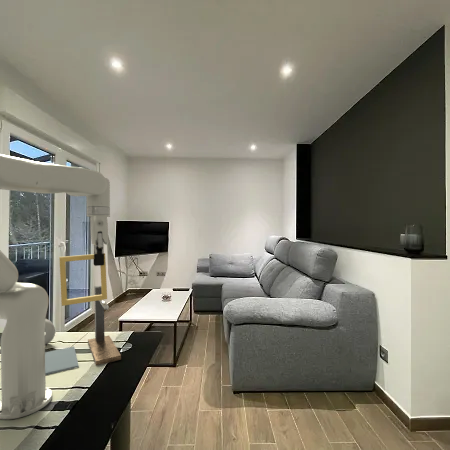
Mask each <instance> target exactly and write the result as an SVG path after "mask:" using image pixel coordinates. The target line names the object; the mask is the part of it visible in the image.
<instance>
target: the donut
mask: <svg viewBox="0 0 450 450" xmlns="http://www.w3.org/2000/svg"><path fill="white" fill-rule="evenodd" d="M55 334H56V328H55V325H54V323H53V322H52V321H51V320H49V319H47V318H46V319H45V345H48V344H50V343H51V342H52V341H53V340H54V337H55V336H56V335H55Z"/></svg>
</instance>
